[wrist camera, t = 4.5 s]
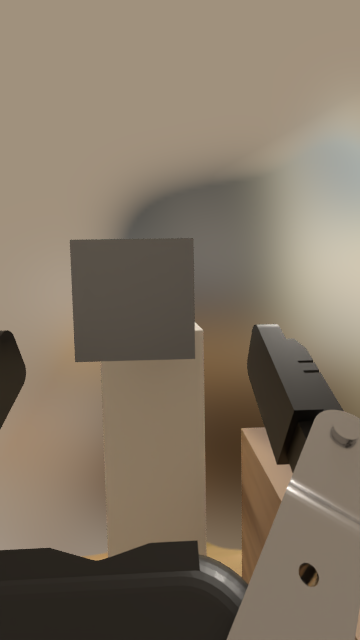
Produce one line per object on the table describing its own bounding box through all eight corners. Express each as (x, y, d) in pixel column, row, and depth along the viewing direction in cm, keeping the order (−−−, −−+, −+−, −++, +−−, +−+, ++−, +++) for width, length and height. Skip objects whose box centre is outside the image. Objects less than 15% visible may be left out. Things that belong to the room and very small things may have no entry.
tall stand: (207, 612, 33) (203, 318, 31) (231, 815, 20) (227, 332, 18) (123, 617, 33) (113, 320, 31) (93, 825, 20) (71, 336, 18)
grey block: (177, 316, 34) (176, 280, 34) (195, 358, 10) (193, 238, 10) (141, 317, 34) (140, 281, 34) (75, 362, 10) (70, 239, 10)
